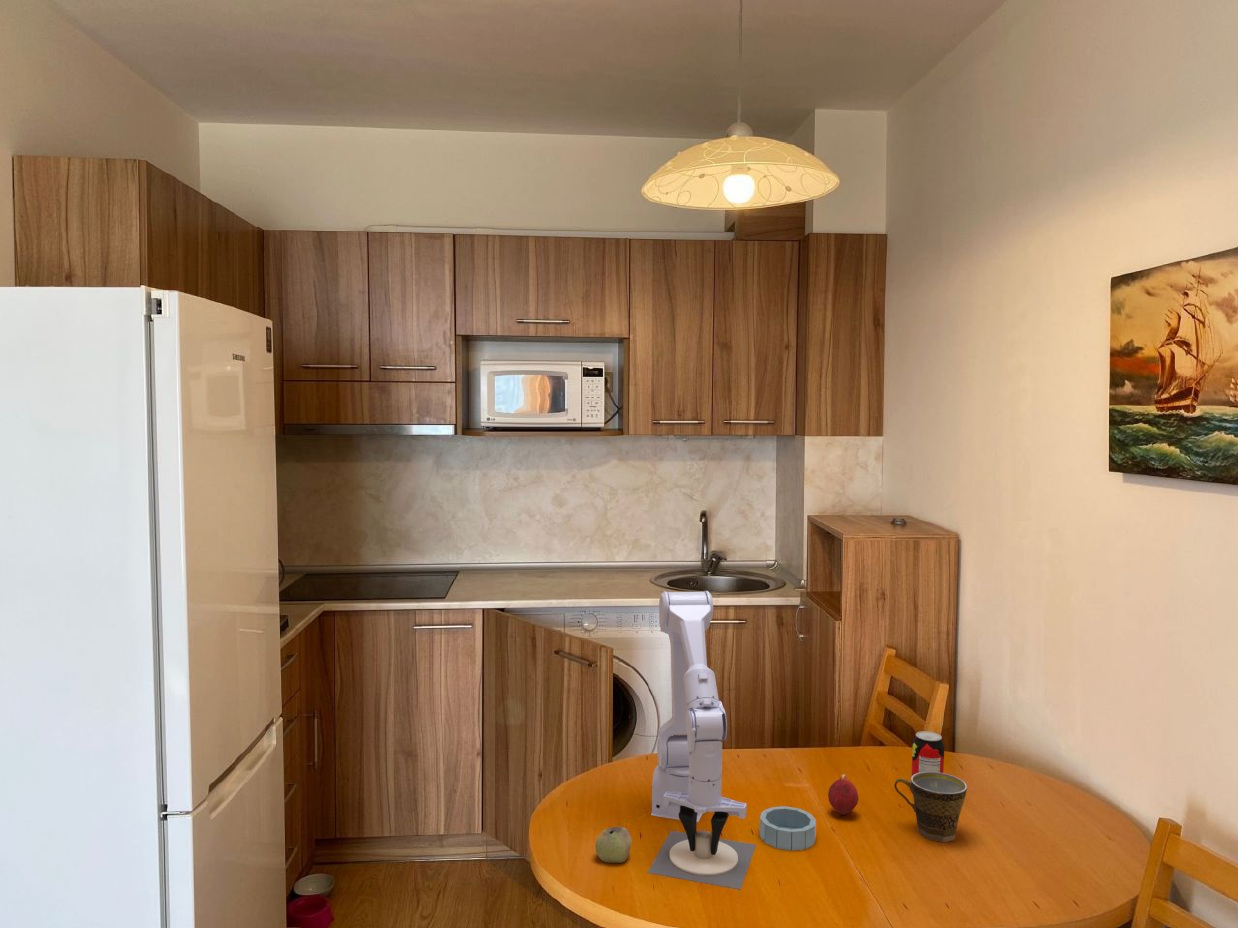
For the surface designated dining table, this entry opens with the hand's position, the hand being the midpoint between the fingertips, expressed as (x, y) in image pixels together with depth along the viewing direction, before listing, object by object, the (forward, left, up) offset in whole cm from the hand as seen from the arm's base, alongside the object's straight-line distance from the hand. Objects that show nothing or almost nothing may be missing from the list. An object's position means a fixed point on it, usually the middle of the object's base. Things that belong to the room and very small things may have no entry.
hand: (703, 850), depth 158 cm
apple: (-14, -5, -2) cm, 15 cm away
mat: (0, 0, -2) cm, 2 cm away
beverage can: (+38, +44, -2) cm, 58 cm away
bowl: (+13, +13, -2) cm, 18 cm away
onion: (+22, +27, -2) cm, 35 cm away
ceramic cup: (+38, +25, -2) cm, 46 cm away
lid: (0, 0, -1) cm, 1 cm away
